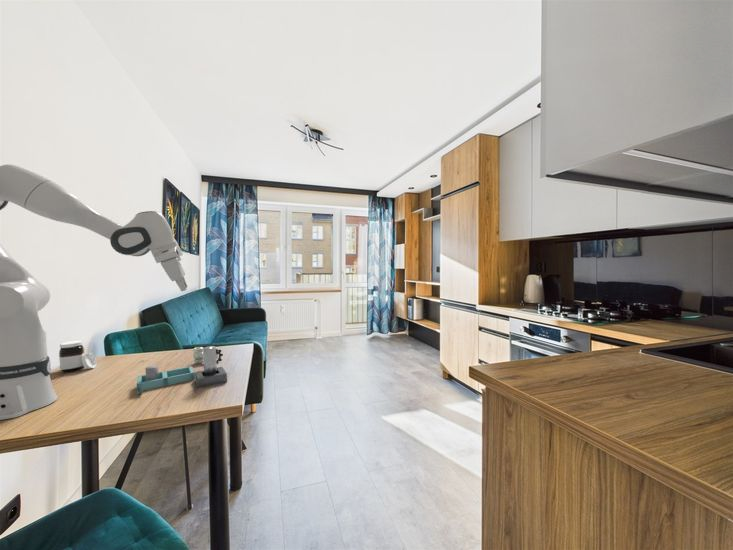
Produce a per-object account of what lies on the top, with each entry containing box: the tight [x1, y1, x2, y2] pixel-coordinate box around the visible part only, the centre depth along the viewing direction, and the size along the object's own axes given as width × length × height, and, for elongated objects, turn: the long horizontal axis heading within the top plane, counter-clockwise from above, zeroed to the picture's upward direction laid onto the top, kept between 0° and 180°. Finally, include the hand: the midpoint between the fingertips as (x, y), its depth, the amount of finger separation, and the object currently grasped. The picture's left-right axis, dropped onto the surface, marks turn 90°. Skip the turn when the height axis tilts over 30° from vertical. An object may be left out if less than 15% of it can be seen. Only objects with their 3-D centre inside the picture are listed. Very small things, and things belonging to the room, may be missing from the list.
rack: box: [136, 365, 196, 395], centre depth 112 cm, size 17×9×7 cm, turn 124°
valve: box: [192, 346, 224, 365], centre depth 135 cm, size 7×7×12 cm
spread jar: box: [58, 340, 97, 374], centre depth 131 cm, size 12×11×12 cm
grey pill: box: [203, 345, 218, 376], centre depth 111 cm, size 4×4×12 cm
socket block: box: [194, 366, 228, 389], centre depth 111 cm, size 9×9×4 cm
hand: (184, 289), depth 117 cm, fingers open, 8 cm apart
